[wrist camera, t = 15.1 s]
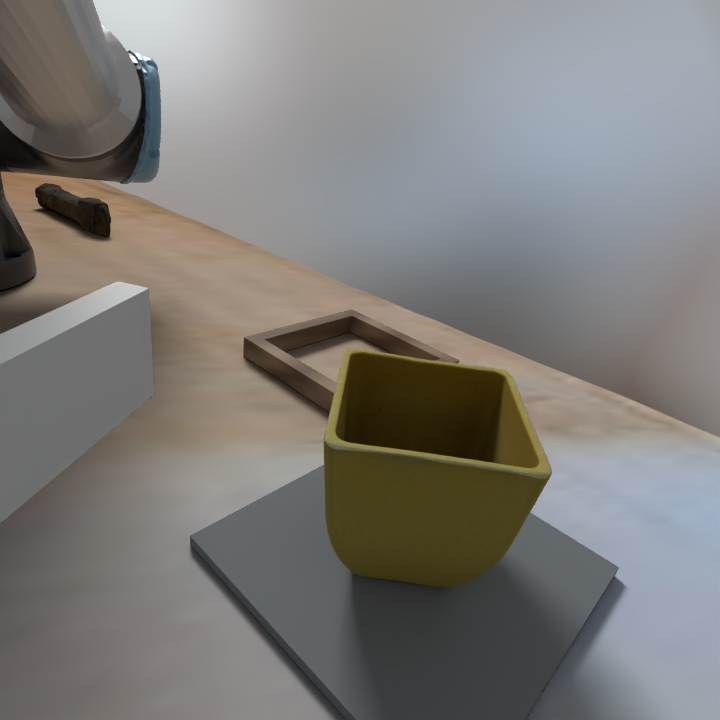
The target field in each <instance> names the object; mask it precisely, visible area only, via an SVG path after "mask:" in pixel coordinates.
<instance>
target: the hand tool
mask: <svg viewBox="0 0 720 720" xmlns="http://www.w3.org/2000/svg"><path fill="white" fill-rule="evenodd" d="M35 194H36V197H37V198H38V203H39V205H40V206H41V207H43V208H46V209H52V210H54V211H57V212H59V213H60V214H62V215H65V216H67V217H68V218H71V219H73V220H75V221H77V222H79V223H80V225H81V227H82V229H84V230H86V231H89V232H92V233H95V234H99V235H105V236H109V235H110V223H111V217H110V213H109V209H108V205H107V204H106V203H104V202H102V201H100V200H99V199H94V198H80V197H77V196H75V195H73V194H71V193H69V192H67V191H65V190H63V189H62V188H61V187H60V186H58V185H54V184H48V183H45V184H42V185H40V186H39V187H37V188H36V189H35Z"/></svg>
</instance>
